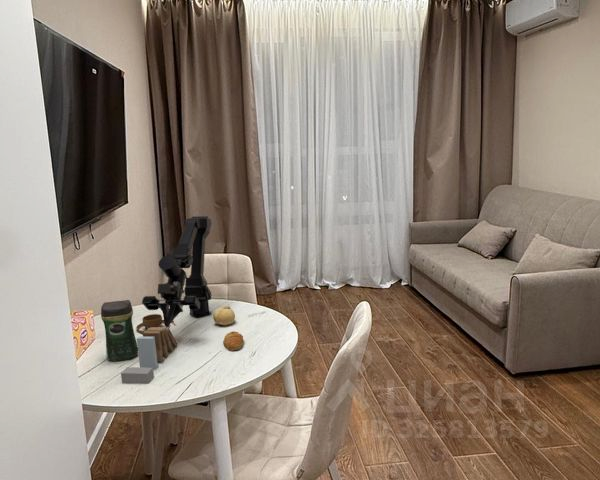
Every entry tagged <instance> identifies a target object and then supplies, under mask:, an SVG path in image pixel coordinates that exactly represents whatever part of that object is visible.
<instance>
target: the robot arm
mask: <svg viewBox="0 0 600 480" xmlns="http://www.w3.org/2000/svg"><path fill="white" fill-rule="evenodd" d="M212 225H213V224H212V219H211V218H209V216H208V215H207V216H206V215H200V216H199V215H198V216H196V215H195V216H191V218H190V217H189V218H188V217H187V218H186V219H184V227H183V231H182V233H181V236H180V238H179V242H178V245H177V246H176V247H174V248H173V249H172V251H171V252H167V253H166V254H165V256H162V257H161V259H159V261H158V267H159V268H160V270H161V271H162V272H163V274H164V276H166V277H167V281H166V282H165V283H158V284H157V294H158V295H160V297H161V298H159V299H158V298H157V296H156V295H145V296H143V298H142V301H141V304H142V305H143V306H144V307H145V308H146V310H148V311H157V310H159V309H160V311H162V318H163V320H164V324H163V325H164V327H168V326H169V327H170V325H171V324H172V323H171V322H172V321H174V320H175V319H176V318H177V317H178V315H179V314H180V313H184V310H183V309H184V306H188V308H189V315H190V316H192V317H194V318H195V319H198V318H202V317H205V316H209V315H212V312H210V306H209V301H210V300H212V291H211V289H210V288H209V286H208V280H206V278H205V275H204V272H205V271H204V269H205V251H206V249H205V248H206V239H207V237H208V236H209V235H210V234H211V233H210V232H211V228H212ZM191 251H192V252H191ZM184 269H190V270H191V271H190V275H189V277H188V275H187V272H186V271H185V270H184ZM183 294H184V295H185V296H184V297H183V299H182V296H183ZM169 327H168V328H169Z"/></svg>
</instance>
